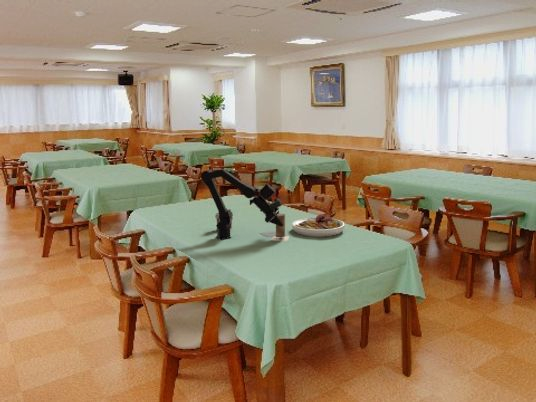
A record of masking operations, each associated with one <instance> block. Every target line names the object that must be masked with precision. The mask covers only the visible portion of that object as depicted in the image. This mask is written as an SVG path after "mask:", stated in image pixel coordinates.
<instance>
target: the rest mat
mask: <svg viewBox="0 0 536 402" xmlns="http://www.w3.org/2000/svg"><path fill="white" fill-rule="evenodd" d="M259 234H260V235H262V236H264V237H267V238H270V237H273V236H276V231H267V232H260V233H259Z"/></svg>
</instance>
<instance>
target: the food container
mask: <svg viewBox="0 0 536 402" xmlns="http://www.w3.org/2000/svg"><path fill="white" fill-rule="evenodd" d="M231 213H232V215H233V216H234V214H233V211H231ZM214 216H215V219H216V225H217V224H218V223H219V222H220V219H219V212H216V213H215V215H214ZM232 224H233V220H232V221H231V222H230V224H229V225H228V226H229V229H230V230H231V229H232V226H233V225H232Z"/></svg>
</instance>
